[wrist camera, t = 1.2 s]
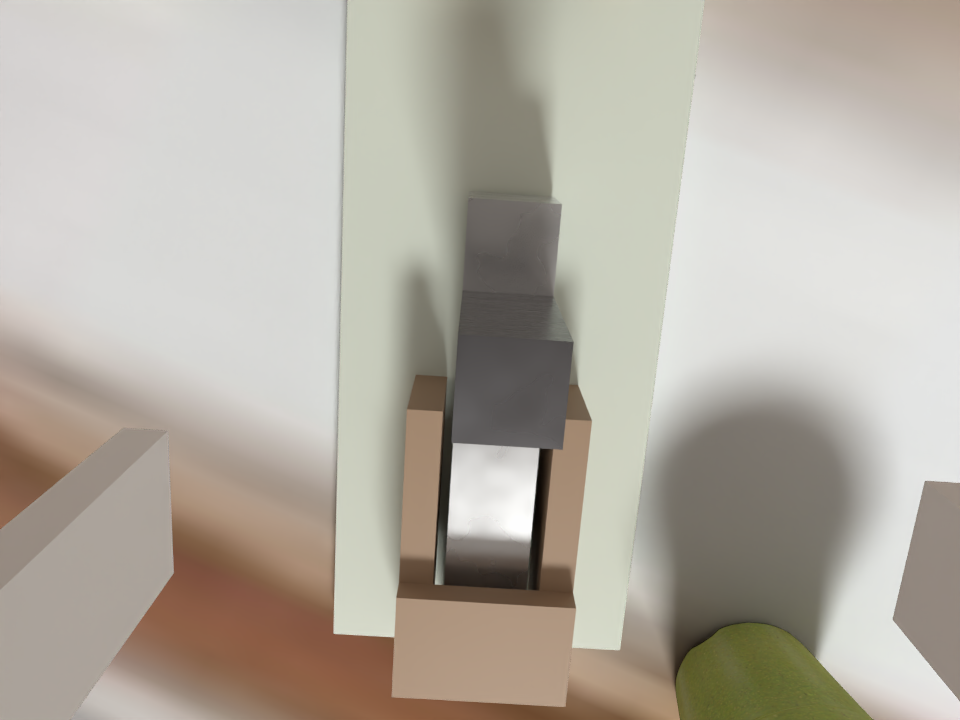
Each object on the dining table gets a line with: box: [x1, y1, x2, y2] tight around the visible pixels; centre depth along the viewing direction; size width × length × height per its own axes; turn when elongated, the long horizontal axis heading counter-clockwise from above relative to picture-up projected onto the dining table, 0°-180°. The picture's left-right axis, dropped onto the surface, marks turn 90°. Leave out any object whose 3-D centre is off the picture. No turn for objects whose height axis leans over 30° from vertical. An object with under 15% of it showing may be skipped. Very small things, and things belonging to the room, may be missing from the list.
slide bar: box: [444, 191, 574, 590], centre depth 27 cm, size 3×17×9 cm, turn 176°
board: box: [334, 0, 705, 707], centre depth 28 cm, size 12×30×6 cm, turn 176°
